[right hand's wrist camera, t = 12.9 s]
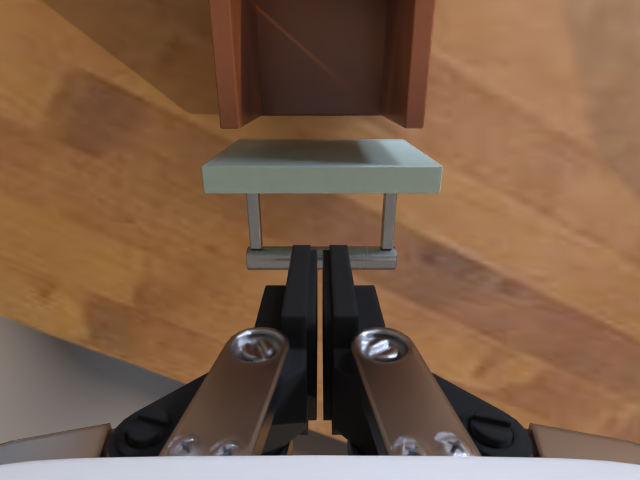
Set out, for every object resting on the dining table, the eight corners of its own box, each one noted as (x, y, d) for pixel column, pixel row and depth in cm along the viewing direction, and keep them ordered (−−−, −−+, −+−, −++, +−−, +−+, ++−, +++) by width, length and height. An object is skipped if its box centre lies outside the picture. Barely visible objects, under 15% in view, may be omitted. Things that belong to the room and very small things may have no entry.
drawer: (396, 233, 27) (427, 296, 19) (245, 233, 27) (215, 296, 19) (436, -273, 18) (529, -556, 10) (207, -273, 18) (116, -557, 10)
